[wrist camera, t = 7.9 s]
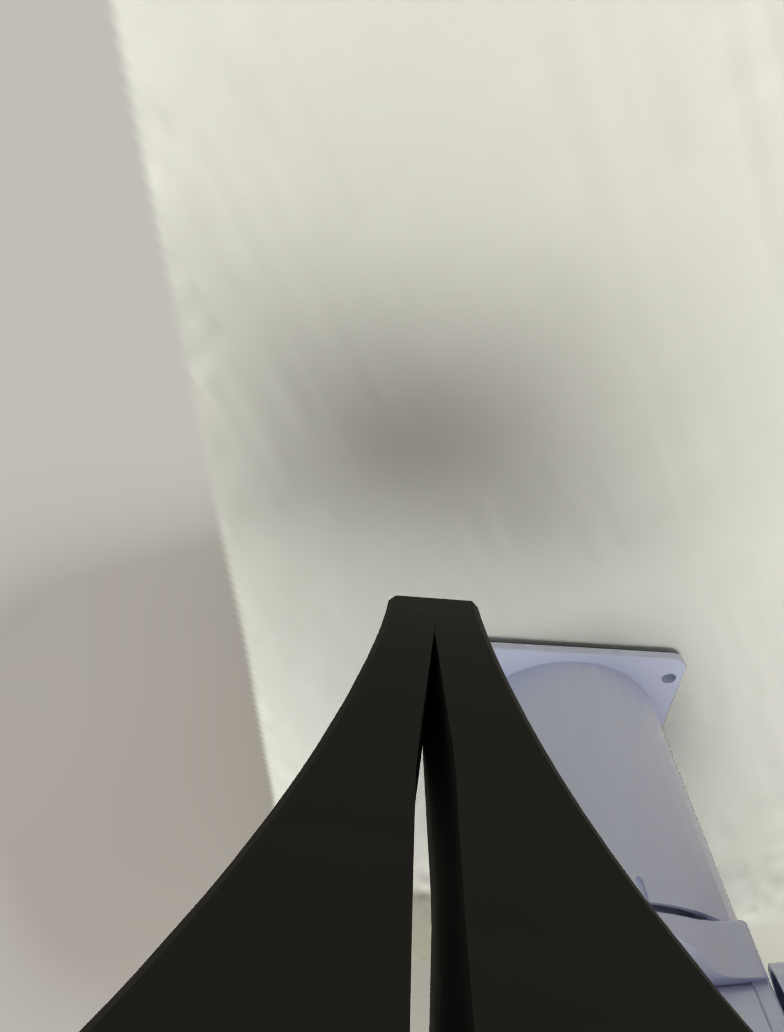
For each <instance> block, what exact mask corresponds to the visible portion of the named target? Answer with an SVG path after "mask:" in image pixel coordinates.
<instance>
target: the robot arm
mask: <svg viewBox="0 0 784 1032" xmlns="http://www.w3.org/2000/svg"><path fill="white" fill-rule="evenodd" d="M685 669H686V664H685V662H684V660H683V658H682V656H680V655H679V654H676V653H667V652H650V651H634V650H617V649H600V648H583V647H566V646H549V645H532V644H516V643H499V642H490V640H489V638H488V636H487V633H486V630H485V628H484V625H483V622H482V620H481V617H480V614H479V610H478V607H477V606H476V605H475V604H474V603H473V602H472V601H463V600H449V599H436V598H422V597H409V596H395V597H393V598H392V599H390V600H389V601H388V606H387V610H386V613H385V616H384V619H383V622H382V625H381V628H380V630H379V633H378V635H377V637H376V640H375V642H374V644H373V646H372V648H371V651H370V653H369V655H368V657H367V659H366V661H365V663H364V665H363V667H362V669H361V671H360V673H359V675H358V676H357V678H356V680H355V682H354V684H353V686H352V688H351V690H350V692H349V694H348V695H347V697H346V699H345V701H344V702H343V704H342V706H341V707H340V709H339V711H338V712H337V714H336V716H335V717H334V719H333V721H332V722H331V724H330V725H329V727H328V729H327V730H326V732H325V734H324V735H323V737H322V739H321V740H320V742H319V743H318V745H317V747H316V748H315V750H314V751H313V753H312V754H311V756H310V757H309V759H308V760H307V762H306V763H305V765H304V766H303V768H302V769H301V771H300V772H299V774H298V775H297V776H296V778H295V779H294V781H293V782H292V784H291V785H290V786H289V788H288V789H287V791H286V792H285V793H284V795H283V796H282V797H281V799H280V800H279V802H278V803H277V804H276V806H275V807H274V808H273V810H272V811H271V813H270V814H269V815H268V817H267V818H266V819H265V820H264V822H263V823H262V824H261V826H260V827H259V828H258V830H257V831H256V832H255V833H254V834H253V836H252V837H251V839H250V840H249V841H248V842H247V843H246V845H245V846H244V847H243V849H242V850H241V851H240V852H239V854H238V855H237V856H236V857H235V859H234V860H233V862H232V863H231V864H230V865H229V866H228V867H227V869H226V870H225V871H224V872H223V873H222V875H221V876H220V877H219V878H218V880H217V881H216V882H215V883H214V885H213V886H212V887H211V888H210V889H209V890H208V892H207V893H206V894H205V895H204V896H203V897H202V899H201V900H200V901H199V902H198V903H197V904H196V905H195V906H194V908H193V909H192V910H191V911H190V912H189V913H188V914H187V916H186V917H185V918H184V919H183V920H182V921H181V922H180V923H179V924H178V926H177V927H176V928H175V929H174V930H173V931H172V932H171V934H170V935H169V936H168V937H167V938H166V939H165V940H164V941H163V943H162V944H161V945H160V946H159V947H158V948H157V949H156V950H155V952H154V953H153V954H152V955H151V956H150V957H149V958H148V959H147V961H146V962H145V963H144V964H143V965H142V966H141V967H140V968H139V970H138V971H137V972H136V973H135V974H134V975H133V976H132V977H131V978H130V979H129V981H128V982H127V983H126V984H125V985H124V986H123V987H122V988H121V989H120V990H119V991H118V992H117V993H116V994H115V996H114V997H113V998H112V999H111V1000H110V1001H109V1002H108V1003H107V1004H106V1005H105V1006H104V1007H103V1008H102V1009H101V1010H100V1011H99V1012H98V1013H97V1014H96V1015H95V1016H94V1017H93V1018H92V1019H91V1020H90V1021H89V1022H88V1023H87V1024H86V1025H85V1026H84V1027H83V1028H82V1029H81V1030H80V1031H79V1032H410V993H411V943H412V899H413V857H414V819H415V800H416V793H417V785H418V777H419V769H420V761H421V753H422V746H423V763H424V781H425V799H426V817H427V834H428V852H429V869H430V887H431V924H432V933H431V981H430V983H431V984H430V1025H429V1032H784V962H777V963H769V964H768V971H769V974H770V978H771V981H772V985H773V988H774V991H773V989H772V986H771V984H770V982H769V978H768V976H767V973H766V971H765V968H764V966H763V963H762V961H761V958H760V956H759V954H758V951H757V949H756V946H755V943H754V941H753V939H752V936H751V933H750V931H749V928H748V926H747V924H746V922H744V921H742V920H737V918H736V916H735V913H734V910H733V908H732V905H731V903H730V900H729V898H728V895H727V893H726V890H725V888H724V885H723V882H722V880H721V877H720V875H719V872H718V870H717V867H716V865H715V862H714V860H713V857H712V855H711V852H710V849H709V847H708V844H707V842H706V839H705V837H704V834H703V832H702V829H701V827H700V824H699V822H698V819H697V816H696V814H695V811H694V809H693V806H692V804H691V801H690V799H689V796H688V794H687V791H686V788H685V786H684V783H683V781H682V778H681V776H680V773H679V771H678V768H677V766H676V763H675V761H674V758H673V755H672V753H671V750H670V748H669V745H668V743H667V740H666V738H665V735H664V733H663V730H662V725H663V723H664V720H665V718H666V716H667V713H668V711H669V708H670V706H671V703H672V701H673V698H674V696H675V694H676V691H677V689H678V686H679V684H680V681H681V679H682V676H683V674H684V672H685ZM666 674H668V675H666ZM774 992H775V993H774Z"/></svg>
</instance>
